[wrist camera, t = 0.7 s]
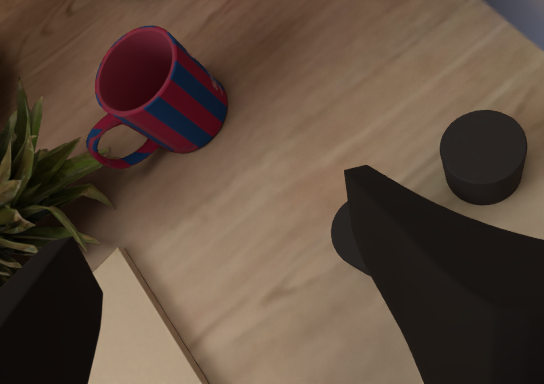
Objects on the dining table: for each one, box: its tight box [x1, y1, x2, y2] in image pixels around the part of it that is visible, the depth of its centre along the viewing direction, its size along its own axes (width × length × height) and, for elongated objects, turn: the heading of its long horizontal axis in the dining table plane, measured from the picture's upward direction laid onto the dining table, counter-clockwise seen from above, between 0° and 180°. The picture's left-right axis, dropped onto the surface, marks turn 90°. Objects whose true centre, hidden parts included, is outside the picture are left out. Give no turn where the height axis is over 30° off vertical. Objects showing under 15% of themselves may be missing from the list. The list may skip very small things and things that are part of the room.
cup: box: [86, 26, 227, 169], centre depth 34 cm, size 7×10×7 cm
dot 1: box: [331, 201, 371, 276], centre depth 26 cm, size 4×4×4 cm
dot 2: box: [440, 110, 527, 205], centre depth 25 cm, size 4×4×4 cm
